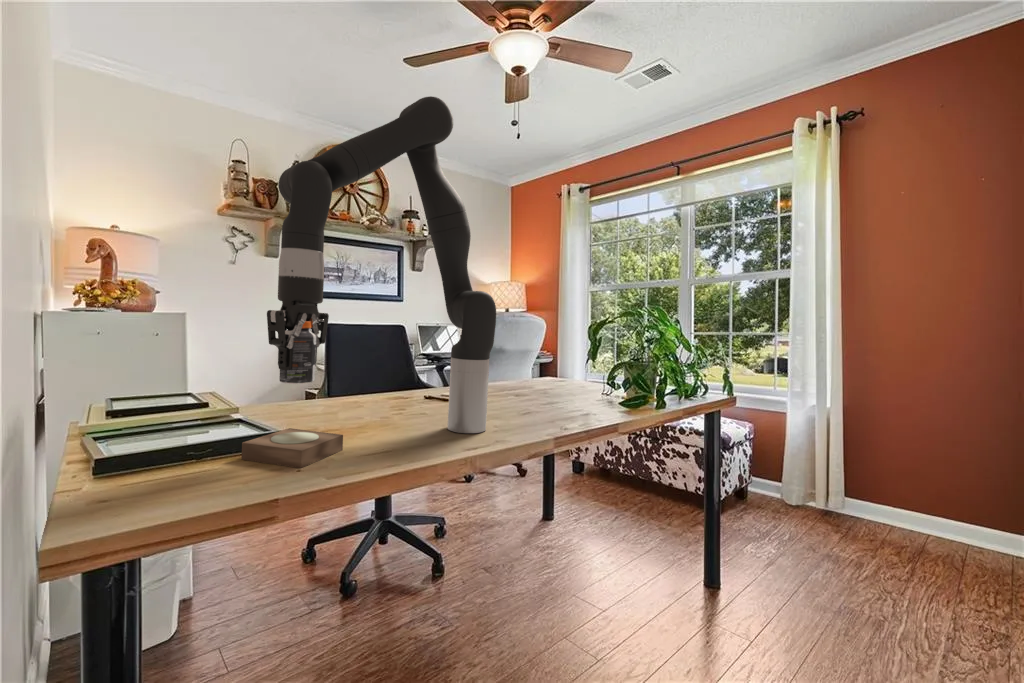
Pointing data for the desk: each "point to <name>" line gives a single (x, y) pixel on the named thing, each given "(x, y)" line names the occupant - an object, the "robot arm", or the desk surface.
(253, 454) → the walnut base
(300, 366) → the pill bottle
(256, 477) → the desk surface
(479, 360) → the robot arm
